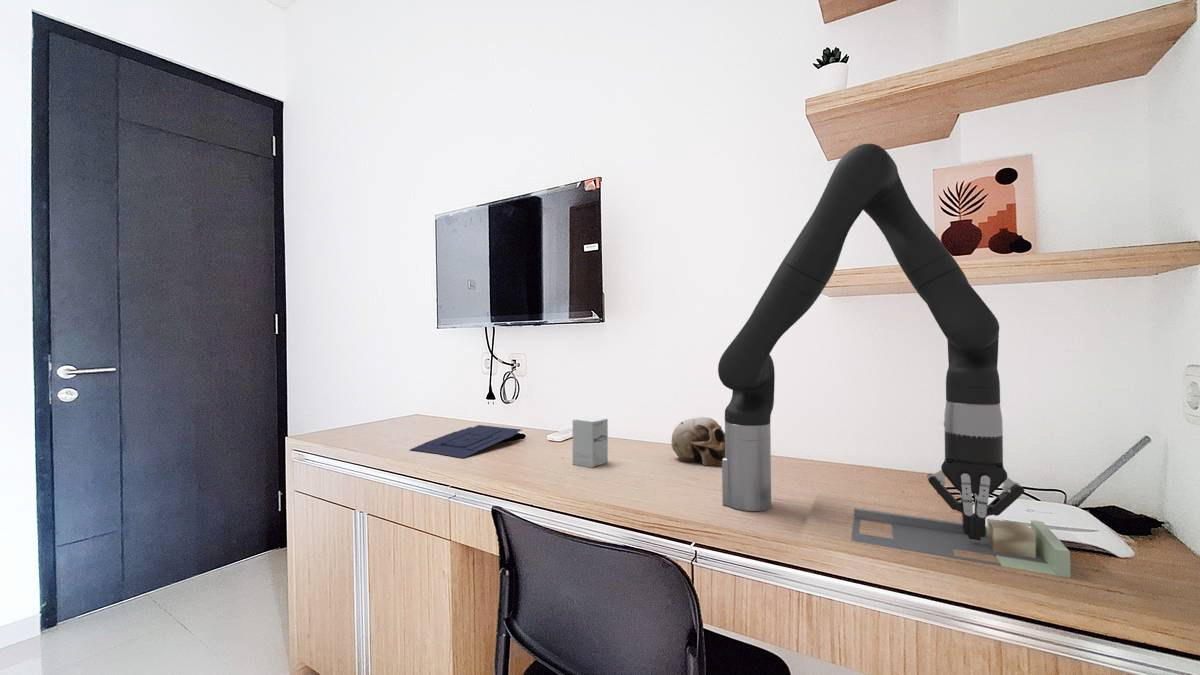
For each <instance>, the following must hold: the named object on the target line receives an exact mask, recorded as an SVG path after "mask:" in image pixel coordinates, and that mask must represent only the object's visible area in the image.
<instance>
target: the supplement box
mask: <svg viewBox="0 0 1200 675" xmlns="http://www.w3.org/2000/svg"><path fill="white" fill-rule="evenodd" d="M608 424H609V423H608V418H605V417H596V416H586V417H581V418H576V419H573V420H572V464H573V465H575V466H581V467H586V468H591V469H592V468H595V467H598V466H600V465H603V464H604V465H605V464H608V456H609V455H608V453H609V451H608V450H609V449H608V448H609V447H608V446H609V444H608V440H609V439H608V438H609V437H608V435H609V433H608Z"/></svg>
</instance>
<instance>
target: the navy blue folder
mask: <svg viewBox="0 0 1200 675" xmlns="http://www.w3.org/2000/svg"><path fill="white" fill-rule="evenodd" d="M521 431H523V429H522V428H521V429H520V428H513V427H511V428H510V427H500V426H494V425H483V424H478V425H476V426H473V427H472V426H469V427H466V428H462V429H460V430H457V431H453V432H450V433H448V434H446V435H442V436H439V437H437V438H434V439H431V440H429V441H427V442H424V443H422V444H419V445H418V446H415V447H412V448H411V449H409V450H410V451H415V452H425V453H433V454H439V455H444V456H450V457H455V458H461V459H464V458H466V457H468V456H469V457H470V456H472V455H473V454H476V453H478V452H480V451H482V450H484V449H486V448H488V447H490V446H492V445H495V444H498V443H499V442H502V441H503V440H504V441H505V440H507V439H510V438H511V437H514V436H515V435H518V434H519V433H520V432H521Z"/></svg>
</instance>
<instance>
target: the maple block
mask: <svg viewBox="0 0 1200 675" xmlns="http://www.w3.org/2000/svg"><path fill="white" fill-rule="evenodd" d="M986 520H987V529H988V542H989V544H990V545H991V547H992V549H993V551H994V552H1000V553H1006V554H1013V555H1019V556H1025V557H1032V558H1036V542H1035V534H1034V532H1033V531H1032V530H1031V526H1029V525H1028V524H1027V523H1023V522H1016V521H1015V522H1014V521H1008V520H1000V519H993V518H987V519H986Z"/></svg>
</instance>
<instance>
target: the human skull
mask: <svg viewBox="0 0 1200 675" xmlns="http://www.w3.org/2000/svg"><path fill="white" fill-rule="evenodd" d="M671 447H672V448H671V449H672V450H673V452H674V453H675V455H676V456H678V457H679V459H681V460H682V461H684V462H687V463H700V462H701V463H702V465H703V466H705V467H706V466H711V467H722V460H723V458H725V431H724V430H723V429H722V426H721V425H720V424H718V422H717V421H716V420H715V419H713V418H711V417H695V418H694V417H693V418H689V419H686V420H684V421H681V422H680V423H678V424H677V426H676V427H675V428H674V429H673V432H672V434H671Z"/></svg>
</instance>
